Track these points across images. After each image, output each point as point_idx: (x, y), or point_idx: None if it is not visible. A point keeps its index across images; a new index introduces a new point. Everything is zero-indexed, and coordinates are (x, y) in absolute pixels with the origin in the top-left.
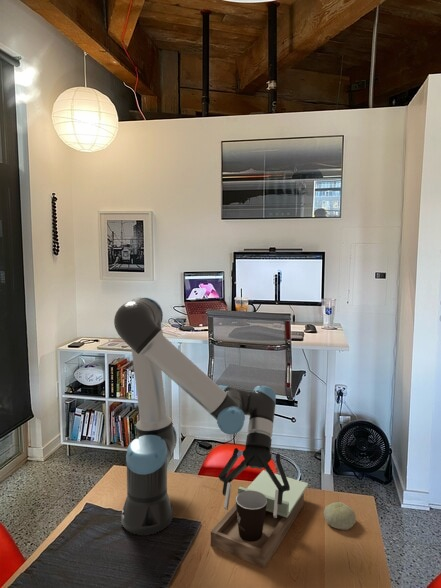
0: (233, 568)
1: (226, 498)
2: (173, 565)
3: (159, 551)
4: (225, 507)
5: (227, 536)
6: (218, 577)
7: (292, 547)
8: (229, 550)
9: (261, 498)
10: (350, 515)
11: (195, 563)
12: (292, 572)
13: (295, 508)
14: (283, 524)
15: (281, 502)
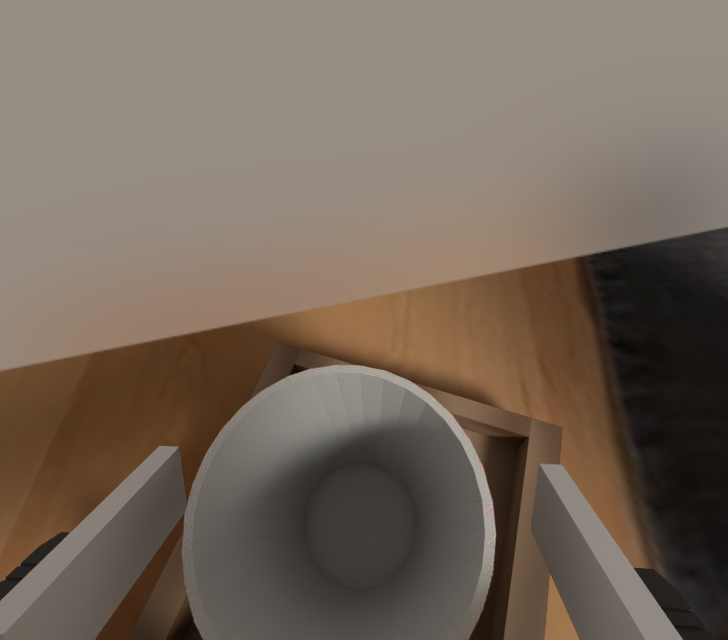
0: (404, 345)
1: (582, 514)
2: (617, 314)
3: (718, 364)
4: (546, 464)
5: (464, 409)
6: (444, 300)
7: None
8: None
9: (244, 632)
10: None
11: (547, 338)
12: (193, 371)
13: None
14: (152, 595)
15: (50, 545)
